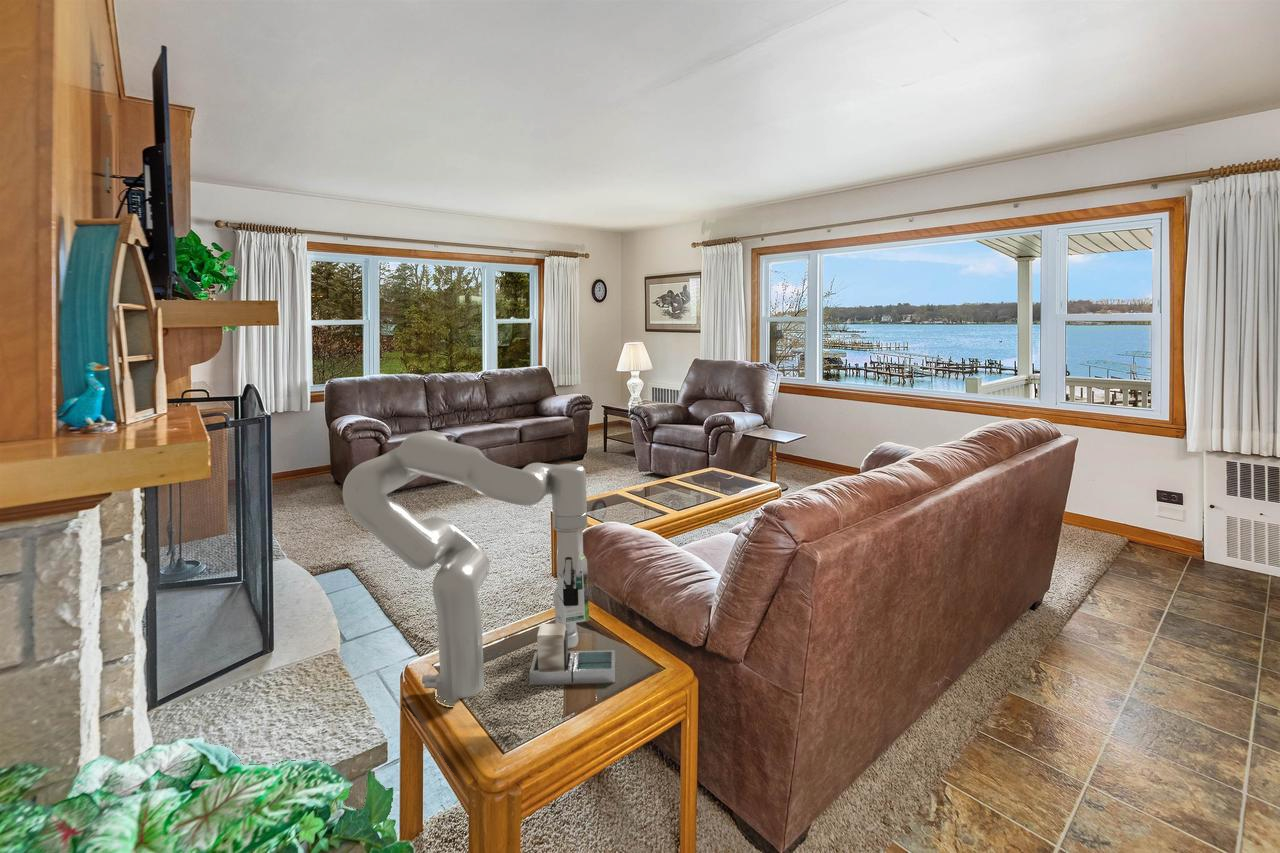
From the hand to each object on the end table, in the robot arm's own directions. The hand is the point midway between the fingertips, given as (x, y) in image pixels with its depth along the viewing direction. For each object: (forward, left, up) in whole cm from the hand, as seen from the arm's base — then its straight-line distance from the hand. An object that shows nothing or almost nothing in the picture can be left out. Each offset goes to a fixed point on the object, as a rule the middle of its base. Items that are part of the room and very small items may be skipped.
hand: (573, 597), depth 137 cm
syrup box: (0, 0, -5) cm, 5 cm away
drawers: (-1, +7, -23) cm, 24 cm away
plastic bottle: (-4, +22, -23) cm, 32 cm away
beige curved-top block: (-6, +7, -21) cm, 23 cm away
